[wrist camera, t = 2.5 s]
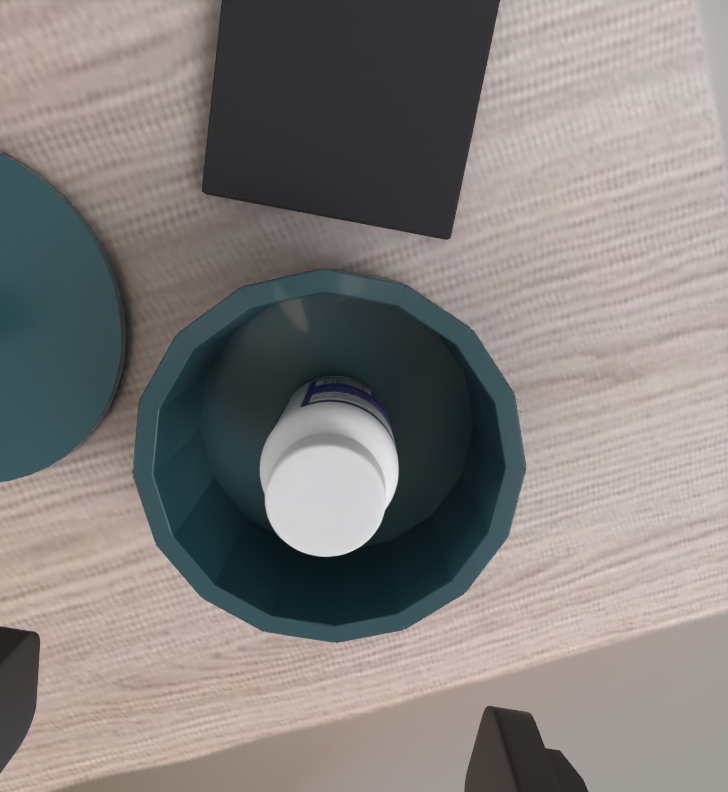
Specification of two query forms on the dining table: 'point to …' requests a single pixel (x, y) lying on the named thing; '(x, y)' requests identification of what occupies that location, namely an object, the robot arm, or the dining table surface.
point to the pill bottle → (329, 467)
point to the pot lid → (52, 325)
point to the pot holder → (348, 107)
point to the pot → (259, 411)
